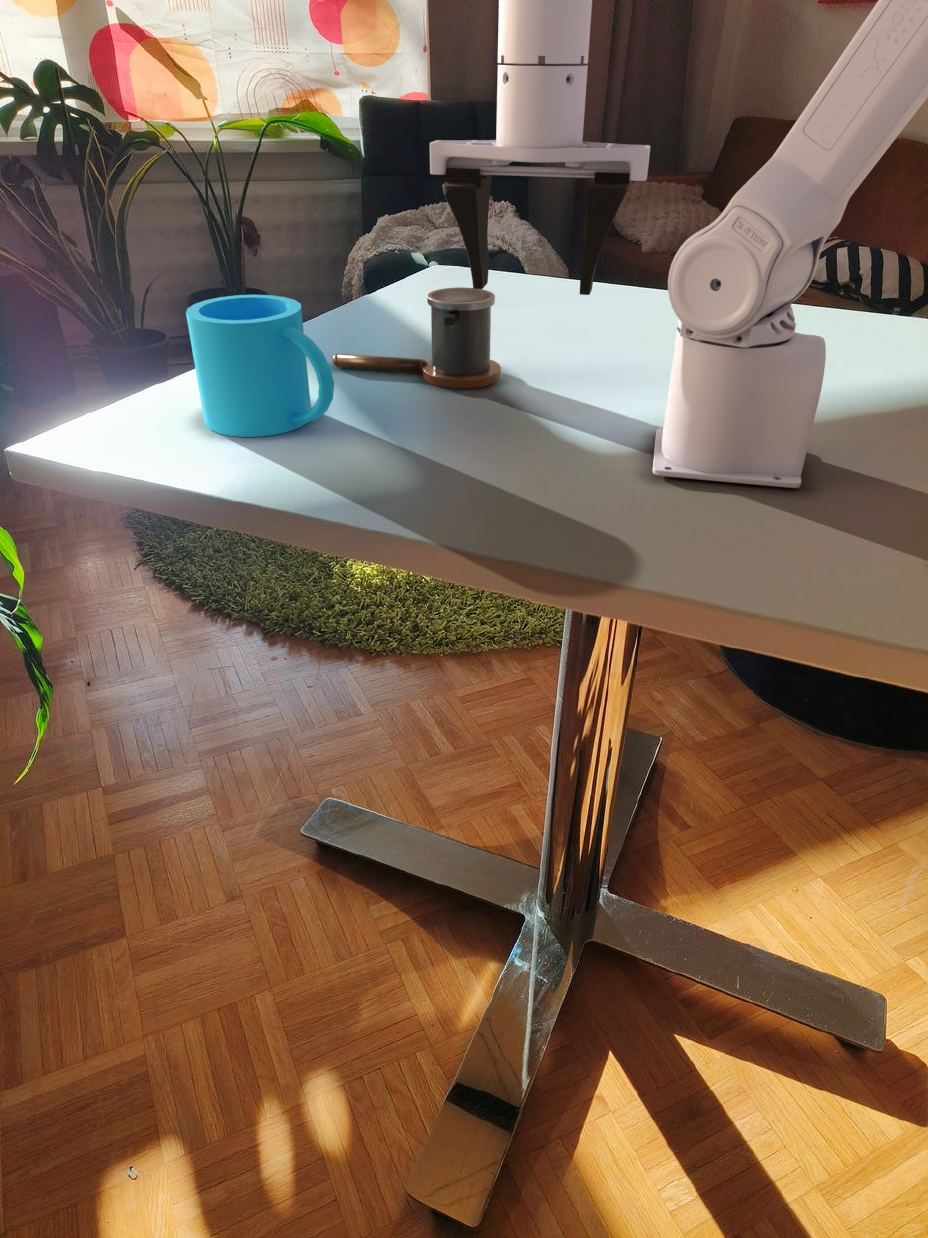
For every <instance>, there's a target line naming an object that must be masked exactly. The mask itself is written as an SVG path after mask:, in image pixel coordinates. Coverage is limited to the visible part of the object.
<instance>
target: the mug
mask: <svg viewBox="0 0 928 1238" xmlns="http://www.w3.org/2000/svg"><path fill="white" fill-rule="evenodd" d="M302 311H303V310H302V304H301V302H299V301H298V300H296V299H293V298H289V297H287V296H279V295H273V294H237V295H236V294H235V295H228V296H220V297H215V298H209V299H205V300H202V301H200V302H199V301H198V302H196V303H194V304H192V305H191V306H189V307H188V308H186V312H185V315H186V322H187V326H188V327H187V328H188V333H189V339H190V344H191V350H192V356H193V362H194V368H195V374H196V381H197V384H198V385H197V386H198V392H199V397H200V403H201V410H202V416H203V421H204V424H205V426H206V427H207V428H208V430H211V431H213V432H215V433H217V434H220V435H224V436H229V437H239V438H257V437H259V438H260V437H270V436H276V435H282V434H285V433H288V432H292V431H295V430H296V429H299V428H301V427H302V426H305V425H306V424H308V423H309V422H313V421H316V420H319V418H320V417H322V416H323V415H324V414H325V413H327V412H328V410H329V409H330V406H331V404H332V402H333V399H334V393H335V381H334V376H333V372H332V368H331V366H330V363H329V361H328V360H327V358H326V356H325V354H324V352H323V351H322V350H321V349H320V348H319V346H318V345H317V344H316V342H315V341H314V340H313V339H312V338H310V337H309V336H307V335H306V334H305V332H304V323H303V322H304V321H303V313H302ZM307 358H308V360H309V362H310V365H311V366H312V368H313V370H314V373H315V375H316V379H317V384H318V393H317V394H318V396H317V398H316V401H315V403H314V405H313V406H312V404H311V394H310V384H309V374H308V364H307Z"/></svg>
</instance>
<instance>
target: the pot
mask: <svg viewBox="0 0 928 1238" xmlns="http://www.w3.org/2000/svg"><path fill="white" fill-rule="evenodd" d="M426 301H427V302H426V303H427V305H429V307H430V318H431V321H430V323H431V326H430V327H431V328H430V329H431V360H432V368H433V370H435V371H436V372H438V373H441V374H445V375H451V376H471V375H477V374H481V373H484V372H486V371H488V370H489V368H490V360H491V330H492V329H491V328H492V327H491V325H492V323H491V322H492V307H493V306H494V305H495V303H496V295H495V294H494V292H492V291H489V290H486V289H484V288H483V289H474V288H473V287H466V286H465V287H461V286H460V287H458V286H457V287H456V286H455V287H447V288H441V289H440V288H439V289H435V290H433V291H430V292H429V293H427V300H426Z"/></svg>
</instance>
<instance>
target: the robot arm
mask: <svg viewBox="0 0 928 1238" xmlns="http://www.w3.org/2000/svg"><path fill="white" fill-rule="evenodd" d="M875 3H876V4H874V6H873V8H872V9H871V11H870V12H869V14H868V15H867V17H866V18H865V20H864V21H863V22H862V24H861V25H860V27H859V28H858V30H857V31H856V33H855V34H854V35H853V37H852V38H851V40H850V41H849V43H848V45H847V46H846V47H845V49H844V50H843V52H842V53H841V54H840V56H839V58H838V59H837V61H836V62H835V64H834V65H833V67H832V68H831V70H830V71H829V73H828V74H827V76H826V77H825V79H824V80H823V82H821V84H820V86H819V87H818V89H817V90H816V92H815V93H814V94H813V96H812V97H811V99H810V100H809V102H808V103H807V105H806V106H805V108H804V109H803V111H802V112H801V114H800V115H799V116H798V118H797V120H796V121H795V123H794V124H793V126H792V127H791V128H790V130H789V132H788V133H787V134H786V136H785V137H784V138H783V140H782V142H781V143H780V145H779V146H778V148H777V149H776V151H774V153H773V155H772V156H771V157H770V158H769V160H767V162H766V163H765V164H764V165H762V167H761V168H759V170H757V171H756V173H755V174H754V175H752V177H750V179H748V181H746V182H745V184H743V185H742V187H740V189H739V190H737V191H736V193H734V195H733V196H732V197H731V199H730V200H729V202H728V203H727V205H726V206H725V208H724V210H723V211H722V212H721V213H720V214H719V216H717V218H716V219H715V220H714V221H712V222H711V223H710V224H709V225H707V226H705V227H703V228H701V229H700V230H698V231H696V232H694V233H693V234H692V235H690V236H689V237H688V238H687V239H685V241H684V242H683V243H682V245H680V247H679V248H678V250H677V251H676V253H675V255H674V257H673V259H672V261H671V264H670V266H669V267H670V268H669V270H668V277H667V293H668V299H669V303H670V305H671V309H672V310H673V312H674V314H675V316H676V317H677V318H678V320H677V327H676V333H675V334H676V335H675V341H674V348H673V354H672V355H673V356H672V362H671V372H670V377H669V384H668V385H669V386H668V392H667V399H666V407H665V413H664V422H663V426H662V427H658V428H656V431H655V440H654V451H653V461H652V470H651V471H652V474H653V475H654V476H658V477H666V478H677V479H678V478H679V479H686V480H687V479H689V480H697V481H698V480H700V481H708V482H709V481H711V482H722V483H733V484H734V483H735V484H743V485H744V484H745V485H754V486H767V487H775V488H786V489H787V488H788V489H798V488H800V487H801V485H802V477H801V476H802V473H803V469H804V464H805V460H806V456H807V452H808V447H809V443H810V439H811V435H812V430H813V427H814V423H815V418H816V414H817V410H818V407H819V401H820V397H821V392H822V387H823V381H824V375H825V368H826V360H827V359H826V357H827V347H826V340H825V338H824V337H823V336H820V335H816V334H805V333H799V332H796V327H797V326H796V325H797V323H796V321H795V320H796V317H795V316H794V310H793V308H792V303H793V302H794V301H796V300H797V299H798V298H799V297H801V296H802V295H803V294H804V293H805V291H806V290H808V288H809V286H810V285H811V283H812V282H813V279H814V277H815V275H816V273H817V270H818V269H817V268H818V265H819V260H820V255H821V252H822V250H823V247H824V246H825V244H826V242H827V240H828V238H829V237H830V235H831V234H832V233H833V232H834V230H835V229H836V228H837V226H838V225H839V224H840V223H841V220H842V218H843V215H844V214H845V210H846V208H847V206H848V202H849V201H850V199H851V197H852V196H853V194H854V193H855V192H856V191H857V189H858V188H859V187H860V185H861V184H862V183H863V182H864V180H866V177H867V176H868V175H869V174H870V172H871V171H872V170H873V168H874V167H875V166H876V165H877V164H878V162H879V161H880V160H881V158H882V157H883V156H884V155H885V153H886V152H887V151H888V150H889V148H890V147H891V145H892V144H893V143H894V141H895V140H896V139H897V138H898V136H899V135H900V134H901V132H902V131H903V130H904V129H905V127H906V126H907V124H909V122H910V121H911V119H912V118H913V117H914V115H915V114H916V113H917V112H918V110H920V108H921V107H922V105H923V104H924V103H925V102H926V100H927V99H928V0H877V2H875ZM592 10H593V0H498V29H497V30H498V35H497V86H496V88H497V89H496V130H495V131H496V137H495V139H479V140H478V139H472V140H471V139H465V140H458V139H457V140H453V139H452V140H451V139H450V140H449V139H446V140H445V139H443V140H442V139H437V140H436V139H435V140H434V141H431V142H429V174H430V175H436V176H445V178H444V180H445V182H444V183H442V192H443V195H444V198H445V200H446V202H447V205H448V206H449V208H450V210H451V213H452V215H453V217H454V220H455V222H456V224H457V227H458V229H459V232H460V235H461V239H462V242H463V245H464V248H465V252H466V256H467V260H468V263H469V264H468V265H469V269H470V275H471V282H472V288H474V289H483V290H484V288H485V287H486V286H487V284H488V283H489V241H488V239H489V237H488V235H489V234H488V232H489V231H488V230H489V229H488V228H489V215H490V214H489V211H490V198H491V186H492V176H512V177H513V176H516V177H517V176H518V177H544V178H545V177H548V178H549V177H550V178H581V179H582V178H583V179H592V180H593V181H592V182H590V183H589V185H588V186H587V202H586V203H587V205H586V228H585V243H584V244H585V245H584V253H583V259H582V266H581V271H580V272H581V273H580V279H579V295H580V296H590V295H591V292H592V290H593V284H594V279H595V278H594V277H595V273H596V269H597V266H598V262H599V259H600V256H601V252H602V250H603V247H604V243H605V241H606V238H607V237H608V236H607V235H608V233H609V231H610V228H611V226H612V224H613V222H614V220H615V217H616V214H617V213H618V211H619V209H620V207H621V205H622V203H623V201H624V199H625V197H626V196H627V193H628V191H629V188H630V187H631V182H646V181H647V179H648V173H649V164H650V163H649V162H650V154H651V145H649V144H628V143H627V144H625V143H624V144H623V143H611V142H610V143H608V142H590V141H583V140H584V138H583V137H584V125H585V112H586V111H585V109H586V95H587V82H588V68H589V65H588V64H589V52H590V38H591V24H592ZM513 162H515V163H518V162H519V163H564V164H565V165H564V166H565V167H549V166H548V167H547V166H517V165H516V166H514V165H510V164H511V163H513Z"/></svg>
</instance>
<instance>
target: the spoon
mask: <svg viewBox="0 0 928 1238" xmlns="http://www.w3.org/2000/svg"><path fill="white" fill-rule="evenodd" d="M332 364H333V365H334V366H335V367H336V368H340V369H341V368H342V369H355V370H369V371H381V372H397V373H409V374H422V378H423V380H424V381H425V382H426V383H428V384H431V385H433V386H436V387H440V388H446V389H454V390H459V389H460V390H466V389H467V390H469V389H478V388H484V387H487V386H491V385H493V384H495V383H497V382H499V380H500V379H501V377H502V367H501V365H500V364H499V363H498V362H497V361H496V360H493V359H490V368H489V370H488V371H486V372H484V373H481V374H477V375H471V376H451V375H445V374H441V373H438V372H436V371H435V370H433V368H432V359H430V360H428V361H427V360H425V359H423V358H409V357H395V356H382V355H367V354H353V353H341V352H340V353H336V354H334V355H333V356H332Z"/></svg>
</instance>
